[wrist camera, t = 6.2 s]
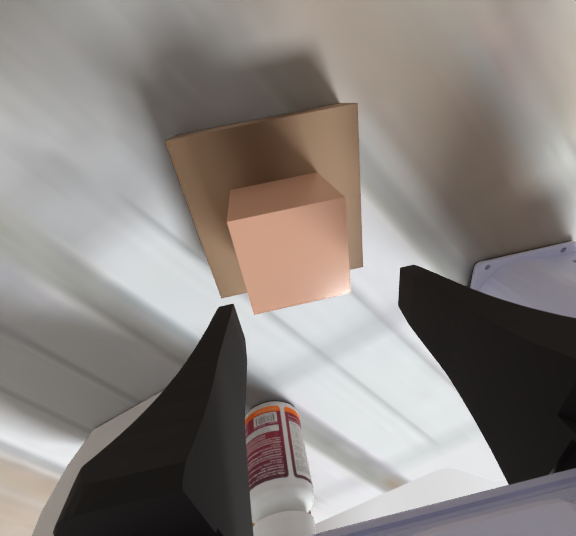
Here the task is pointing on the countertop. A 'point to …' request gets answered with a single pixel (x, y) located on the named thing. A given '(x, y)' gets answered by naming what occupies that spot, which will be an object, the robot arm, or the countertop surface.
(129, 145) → the countertop surface
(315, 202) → the terracotta block
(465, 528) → the robot arm
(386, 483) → the countertop surface
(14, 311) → the countertop surface
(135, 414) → the soap bottle
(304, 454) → the pill bottle
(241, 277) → the walnut base
